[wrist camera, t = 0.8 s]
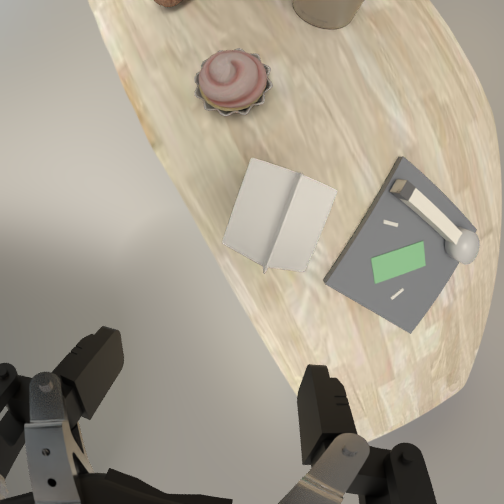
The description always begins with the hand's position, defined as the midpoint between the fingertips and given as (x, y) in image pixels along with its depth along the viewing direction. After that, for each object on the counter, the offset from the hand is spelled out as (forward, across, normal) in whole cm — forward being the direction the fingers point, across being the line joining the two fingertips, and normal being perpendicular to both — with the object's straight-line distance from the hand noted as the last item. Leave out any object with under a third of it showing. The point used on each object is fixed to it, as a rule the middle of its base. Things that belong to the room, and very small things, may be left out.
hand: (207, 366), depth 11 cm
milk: (+28, -2, -4) cm, 28 cm away
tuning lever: (+26, -26, -6) cm, 37 cm away
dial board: (+28, -24, 0) cm, 37 cm away
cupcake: (+28, +4, -18) cm, 34 cm away
